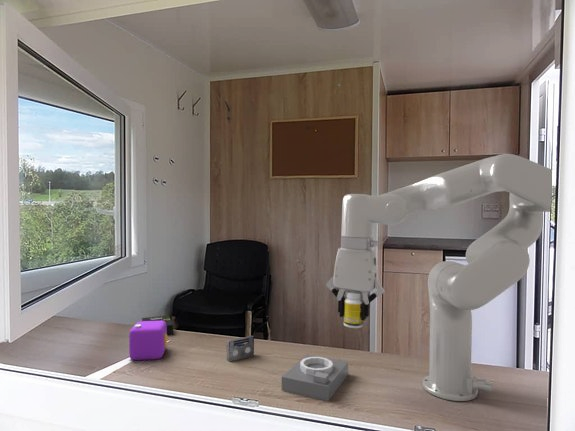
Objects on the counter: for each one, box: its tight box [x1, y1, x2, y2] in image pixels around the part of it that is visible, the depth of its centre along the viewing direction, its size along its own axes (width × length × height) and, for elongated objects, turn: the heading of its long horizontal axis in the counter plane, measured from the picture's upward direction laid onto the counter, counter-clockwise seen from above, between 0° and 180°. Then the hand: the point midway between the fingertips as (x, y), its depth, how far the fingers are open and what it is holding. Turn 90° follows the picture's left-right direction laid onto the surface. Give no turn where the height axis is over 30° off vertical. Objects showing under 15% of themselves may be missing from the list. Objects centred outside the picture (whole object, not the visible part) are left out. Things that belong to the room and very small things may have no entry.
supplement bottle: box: [343, 290, 364, 329], centre depth 96 cm, size 5×5×8 cm
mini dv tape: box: [226, 335, 255, 362], centre depth 115 cm, size 8×2×6 cm, turn 123°
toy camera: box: [128, 320, 169, 361], centre depth 118 cm, size 11×14×10 cm
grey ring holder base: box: [281, 353, 349, 402], centre depth 99 cm, size 12×16×5 cm
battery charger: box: [141, 314, 174, 337], centre depth 139 cm, size 13×10×4 cm
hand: (353, 316), depth 96 cm, fingers closed on supplement bottle, 4 cm apart
